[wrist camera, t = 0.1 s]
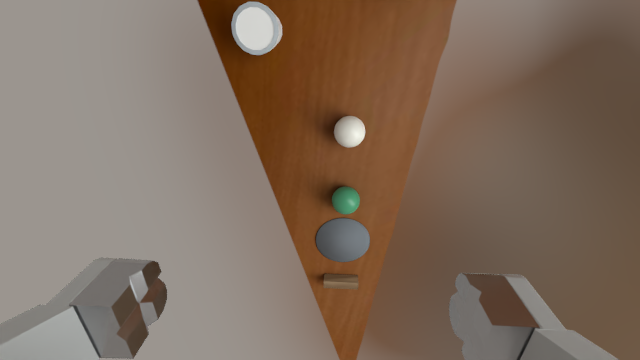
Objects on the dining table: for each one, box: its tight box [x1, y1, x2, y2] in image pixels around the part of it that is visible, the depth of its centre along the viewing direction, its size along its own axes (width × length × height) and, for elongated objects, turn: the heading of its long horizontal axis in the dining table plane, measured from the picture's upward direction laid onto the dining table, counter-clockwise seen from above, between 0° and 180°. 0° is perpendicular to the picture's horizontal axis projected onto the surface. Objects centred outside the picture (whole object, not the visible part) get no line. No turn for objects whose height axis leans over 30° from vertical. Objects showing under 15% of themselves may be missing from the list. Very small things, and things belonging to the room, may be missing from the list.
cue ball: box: [334, 116, 365, 147], centre depth 53 cm, size 6×6×6 cm
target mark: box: [316, 218, 370, 262], centre depth 66 cm, size 12×12×1 cm
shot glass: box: [231, 2, 282, 55], centre depth 45 cm, size 7×7×7 cm
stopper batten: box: [324, 274, 358, 289], centre depth 70 cm, size 2×8×2 cm, turn 89°
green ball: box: [332, 186, 360, 214], centre depth 59 cm, size 6×6×6 cm
